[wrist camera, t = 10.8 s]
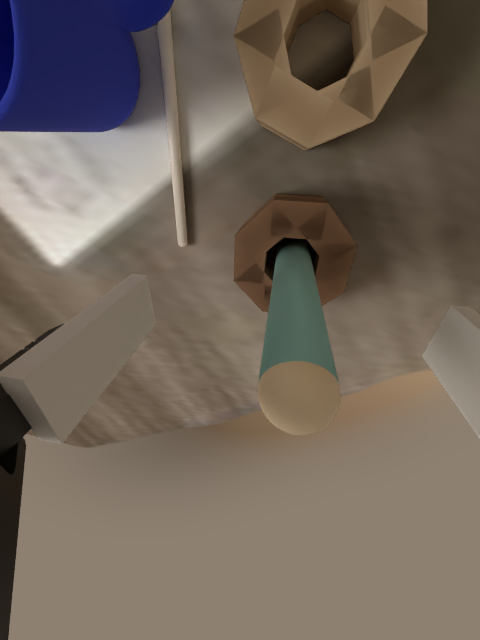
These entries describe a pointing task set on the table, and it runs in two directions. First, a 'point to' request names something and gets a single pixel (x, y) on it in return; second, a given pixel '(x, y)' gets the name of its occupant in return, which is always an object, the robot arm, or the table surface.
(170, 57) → the thin beige rod
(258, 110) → the maple bead
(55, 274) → the table surface
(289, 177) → the table surface
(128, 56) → the mug
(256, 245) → the walnut bead
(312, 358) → the teal rod
